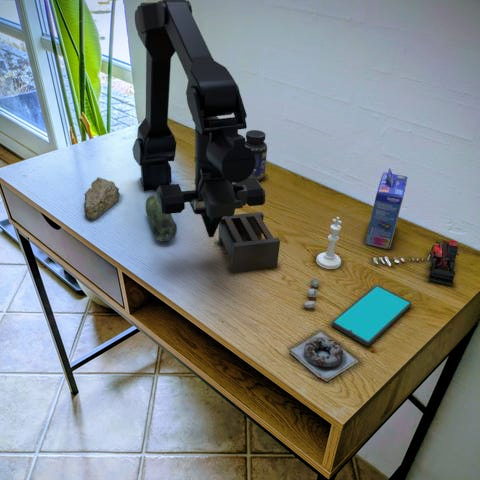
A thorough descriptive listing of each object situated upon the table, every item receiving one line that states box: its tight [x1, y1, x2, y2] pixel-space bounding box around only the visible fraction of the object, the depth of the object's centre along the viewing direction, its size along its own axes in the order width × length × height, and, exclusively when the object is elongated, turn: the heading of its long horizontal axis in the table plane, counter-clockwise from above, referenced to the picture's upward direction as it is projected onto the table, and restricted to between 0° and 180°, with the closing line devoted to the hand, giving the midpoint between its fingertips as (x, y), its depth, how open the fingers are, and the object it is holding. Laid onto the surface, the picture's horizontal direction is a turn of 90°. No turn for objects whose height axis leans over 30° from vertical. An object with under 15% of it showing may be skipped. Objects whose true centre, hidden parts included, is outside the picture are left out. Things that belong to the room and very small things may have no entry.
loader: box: [428, 237, 460, 287], centre depth 97 cm, size 12×5×5 cm, turn 162°
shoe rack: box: [217, 211, 281, 274], centre depth 97 cm, size 9×11×6 cm
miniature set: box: [372, 254, 431, 267], centre depth 99 cm, size 3×12×2 cm, turn 102°
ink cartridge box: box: [365, 167, 408, 250], centre depth 102 cm, size 10×6×14 cm, turn 161°
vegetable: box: [145, 194, 178, 242], centre depth 102 cm, size 14×5×5 cm
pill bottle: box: [245, 129, 268, 182], centre depth 121 cm, size 6×6×11 cm
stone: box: [83, 176, 121, 221], centre depth 108 cm, size 14×7×5 cm, turn 169°
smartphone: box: [331, 284, 412, 347], centre depth 86 cm, size 7×1×15 cm
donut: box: [289, 331, 359, 382], centre depth 77 cm, size 8×8×2 cm
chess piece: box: [315, 216, 343, 270], centre depth 95 cm, size 5×5×10 cm
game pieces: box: [303, 276, 320, 309], centre depth 89 cm, size 8×2×2 cm
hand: (210, 236), depth 93 cm, fingers closed
